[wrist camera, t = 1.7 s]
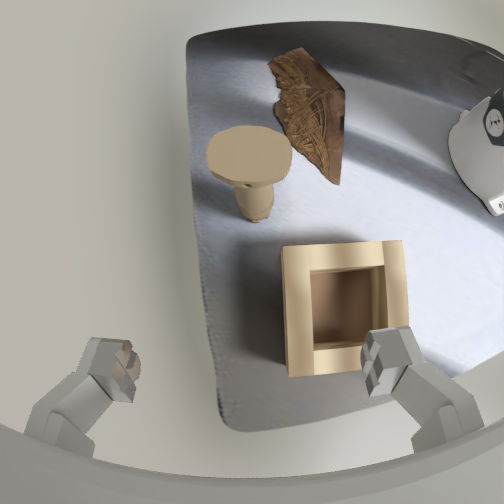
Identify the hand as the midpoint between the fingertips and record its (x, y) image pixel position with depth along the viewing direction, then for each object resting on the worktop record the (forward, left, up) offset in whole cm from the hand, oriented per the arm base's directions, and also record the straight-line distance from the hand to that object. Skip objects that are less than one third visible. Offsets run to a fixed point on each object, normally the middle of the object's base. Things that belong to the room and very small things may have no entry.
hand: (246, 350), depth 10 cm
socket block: (-9, 0, -25) cm, 27 cm away
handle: (0, -12, -25) cm, 28 cm away
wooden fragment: (-9, -28, -26) cm, 39 cm away
